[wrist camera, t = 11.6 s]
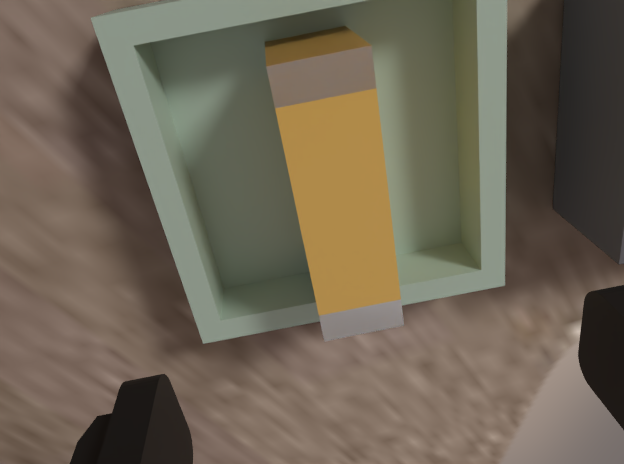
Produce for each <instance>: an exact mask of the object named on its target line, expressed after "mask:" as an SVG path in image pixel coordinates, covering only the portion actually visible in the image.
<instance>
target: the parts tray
mask: <svg viewBox="0 0 624 464" xmlns="http://www.w3.org/2000/svg"><path fill="white" fill-rule="evenodd" d="M91 21H92V24H93V26H94V29H95V32H96V35H97V38H98V41H99V44H100V47H101V50H102V52H103V55H104V58H105V61H106V64H107V67H108V70H109V73H110V76H111V79H112V81H113V84H114V87H115V90H116V93H117V96H118V99H119V102H120V105H121V107H122V110H123V113H124V116H125V119H126V122H127V125H128V128H129V131H130V133H131V136H132V139H133V142H134V145H135V148H136V151H137V154H138V157H139V159H140V162H141V165H142V168H143V171H144V174H145V177H146V180H147V183H148V186H149V188H150V191H151V194H152V197H153V200H154V203H155V206H156V209H157V212H158V214H159V217H160V220H161V223H162V226H163V229H164V232H165V235H166V238H167V240H168V243H169V246H170V249H171V252H172V255H173V258H174V261H175V264H176V266H177V269H178V272H179V275H180V278H181V281H182V284H183V287H184V290H185V293H186V295H187V298H188V301H189V304H190V307H191V310H192V313H193V316H194V319H195V321H196V324H197V327H198V330H199V333H200V336H201V339H202V342H203V344H205V343H210V342H215V341H221V340H226V339H231V338H236V337H241V336H246V335H252V334H257V333H262V332H267V331H272V330H278V329H283V328H288V327H293V326H298V325H303V324H309V323H314V322H319V321H320V319H319V314H318V309H317V304H316V300H315V295H314V290H313V286H312V281H311V276H310V271H309V267H308V262H307V257H306V252H305V248H304V243H303V238H302V234H301V229H300V224H299V219H298V215H297V210H296V205H295V200H294V196H293V191H292V186H291V182H290V177H289V172H288V167H287V163H286V158H285V153H284V148H283V144H282V139H281V134H280V130H279V125H278V120H277V115H276V111H275V106H274V101H273V97H272V92H271V87H270V82H269V78H268V73H267V68H266V56H265V42H267V41H272V40H277V39H282V38H287V37H292V36H297V35H302V34H307V33H312V32H317V31H322V30H327V29H332V28H337V27H342V26H346V27H348V28H349V29H350V30H352V31H353V32H354V33H356V34H357V35H358V36H360V37H361V38H362V39H364V40H365V41H366V42H368V43H369V44H370V45H372V54H373V62H374V71H375V80H376V88H377V97H378V105H379V114H380V123H381V131H382V140H383V149H384V157H385V166H386V174H387V183H388V192H389V200H390V209H391V217H392V226H393V235H394V243H395V252H396V260H397V269H398V278H399V286H400V295H401V304H402V305H407V304H412V303H418V302H423V301H428V300H433V299H438V298H443V297H449V296H454V295H459V294H464V293H469V292H475V291H480V290H485V289H490V288H495V287H500V286H505V224H506V93H507V0H163V1H158V2H153V3H148V4H143V5H138V6H132V7H127V8H122V9H117V10H113V11H110V12H107V13H104V14H101V15H98V16H95V17H92V18H91Z"/></svg>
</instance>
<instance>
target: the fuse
mask: <svg viewBox="0 0 624 464" xmlns="http://www.w3.org/2000/svg"><path fill="white" fill-rule="evenodd" d="M265 56H266V68H267V73H268V78H269V82H270V87H271V92H272V97H273V101H274V106H275V111H276V115H277V120H278V125H279V130H280V134H281V139H282V144H283V148H284V153H285V158H286V163H287V167H288V172H289V177H290V182H291V186H292V191H293V196H294V200H295V205H296V210H297V215H298V219H299V224H300V229H301V234H302V238H303V243H304V248H305V252H306V257H307V262H308V267H309V271H310V276H311V281H312V286H313V290H314V295H315V300H316V304H317V309H318V314H319V319H320V323H321V328H322V333H323V337H324V341H329V340H334V339H339V338H344V337H349V336H354V335H359V334H364V333H369V332H374V331H379V330H384V329H390V328H395V327H400V326H404V321H403V312H402V304H401V295H400V286H399V278H398V269H397V260H396V252H395V243H394V235H393V226H392V217H391V209H390V200H389V192H388V183H387V174H386V166H385V157H384V149H383V140H382V131H381V123H380V114H379V105H378V97H377V88H376V80H375V71H374V62H373V54H372V45H370V44H369V43H368V42H366V41H365V40H364V39H362V38H361V37H360V36H358V35H357V34H356V33H354V32H353V31H352V30H350V29H349V28H348V27H346V26H342V27H337V28H332V29H327V30H322V31H317V32H312V33H307V34H302V35H297V36H292V37H287V38H282V39H277V40H272V41H267V42H265Z"/></svg>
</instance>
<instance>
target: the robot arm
mask: <svg viewBox="0 0 624 464" xmlns="http://www.w3.org/2000/svg"><path fill="white" fill-rule="evenodd" d="M578 357H579V363H580V367H581V370H582V373H583V376H584V378H585V380H586V381H587V383H588V385H589V386H590V387H591V389H592V390H593V391H594V393H595V394H596V395H597V396H598V398H599V399H600V400H601V401H602V403H603V404H604V405H605V407H606V408H607V409H608V410H609V412H610V413H611V414H612V416H613V417H614V418H615V419H616V421H617V422H618V423H619V424H620V426H621V427H622V428H623V430H624V285H622V286H616V287H611V288H606V289H601V290H596V291H591V292H589V293H588V294H587V295H586V297H585V300H584V307H583V316H582V325H581V334H580V342H579V352H578ZM70 464H193V447H192V439H191V434H190V430H189V427H188V425H187V422H186V420H185V417H184V415H183V412H182V410H181V407H180V405H179V402H178V400H177V397H176V395H175V392H174V390H173V387H172V385H171V382H170V380H169V378H168V377H167V376H166V375H165V374H161V375H156V376H151V377H146V378H141V379H135V380H130V381H125V382H123V383H122V385H121V387H120V389H119V392H118V396H117V399H116V402H115V405H114V409H113V412H112V413H111V414H106V415H101V416H97V417H96V419H95V420H94V421H93V423H92V424H91V425H90V427H89V428H88V429H87V430H86V432H85V433H84V434H83V436H82V437H81V438H80V440H79V441H78V442H77V445H76V448H75V451H74V454H73V456H72V459H71V462H70Z"/></svg>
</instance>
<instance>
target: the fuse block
mask: <svg viewBox="0 0 624 464" xmlns="http://www.w3.org/2000/svg"><path fill="white" fill-rule="evenodd" d="M553 209H554V210H555V211H556V212H557V213H558V214H560V215H561V216H562V217H563V218H564V219H566V220H567V221H568V222H569V223H570V224H572V225H573V226H574V227H575V228H576V229H577V230H579V231H580V232H581V233H582V234H583V235H585V236H586V237H587V238H588V239H589V240H590V241H592V242H593V243H594V244H595V245H596V246H598V247H599V248H600V249H601V250H602V251H604V252H605V253H606V254H607V255H608V256H609V257H611V258H612V259H613V260H614V261H615V262H617V263H618V264H624V0H564V14H563V32H562V50H561V68H560V86H559V104H558V122H557V140H556V158H555V177H554V195H553Z"/></svg>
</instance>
